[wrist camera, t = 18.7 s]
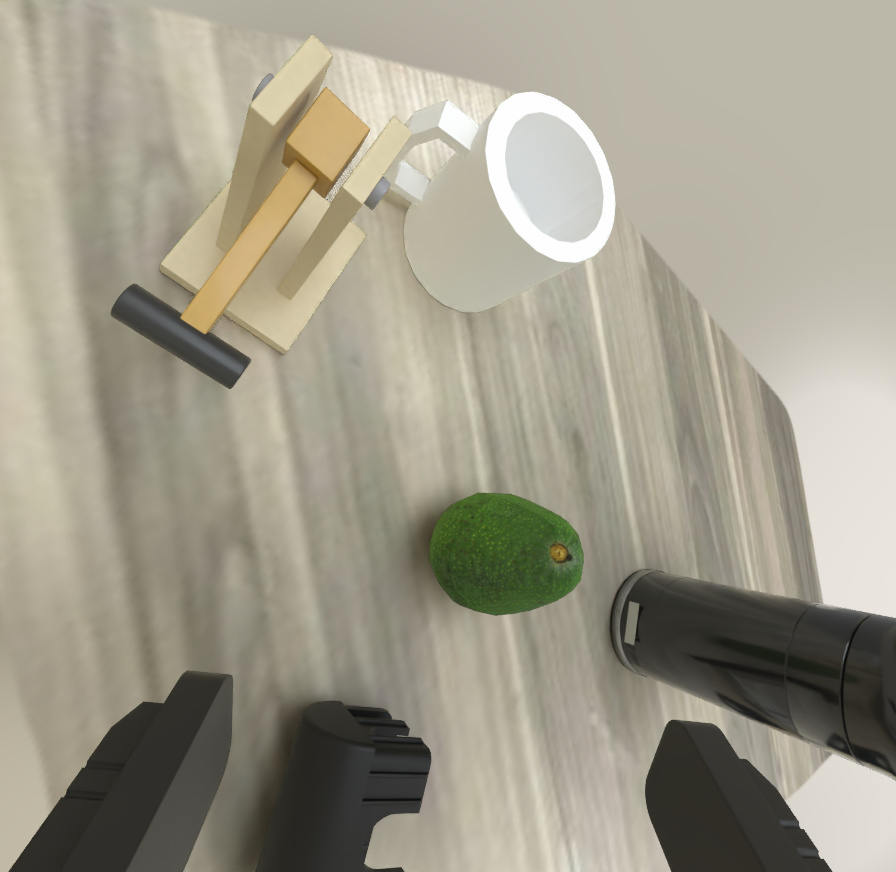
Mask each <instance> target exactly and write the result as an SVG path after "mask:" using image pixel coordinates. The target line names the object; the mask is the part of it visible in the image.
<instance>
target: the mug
mask: <svg viewBox="0 0 896 872" xmlns="http://www.w3.org/2000/svg"><path fill="white" fill-rule="evenodd" d="M405 126H406V127H407V128H408V129H409V130H410V131H411V132H412V135H411V136H410V138H409V139H408V141H407V142H406V144H405V145H404V146H403V148H402V149H401V151H400V152H399V154H398V155H397V156H396V158H395V159H394V161H393V162H392V164H391V165H390V166H389V168H388V169H387V171H386V173H385V179H386V180H387V181H388V182H390V184H391V185H390V187H389V188H390V189H392V190H393V191H395V192H396V193H398V194H399V195H401V196H403V197H404V198H406V199H407V200H409V201H410V202H412V204H411V205H410V207H409V209H408V211H407V212H406V218H405V223H404V229H403V236H404V244H405V252H406V256H407V258H408V260H409V263H410V265H411V268H412V270H413V272H414V275H415V276H416V278H417V279H418V280H419V282H420V283H421V284H422V285H423V287H424V288H425V289H426V291H427V292H428V293H429V294H430V295H432V296H433V297H434V298H435V299H437V300H438V301H439V302H441V303H442V304H443V305H444V306H447V307H450V308H452V309H455V310H457V311H460V312H472V313H479V312H482V311H485V310H487V309H490V308H492V307H495V306H496V305H498V304H500V303H502V302H504V301H506V300H508V299H510V298H512V297H514V296H516V295H518V294H520V293H522V292H524V291H526V290H528V289H530V288H532V287H534V286H536V285H538V284H540V283H542V282H544V281H546V280H548V279H550V278H552V277H554V276H556V275H558V274H560V273H562V272H564V271H566V270H568V269H570V268H572V267H574V266H576V265H578V264H580V263H582V262H584V261H586V260H588V259H590V258H592V257H593V256H594V255H595V254H596V253H597V252H598V251H599V250H600V249H601V248H602V247H603V246H604V245H605V244H606V242H607V239H608V237H609V234H610V232H611V229H612V227H613V223H614V213H615V195H614V187H613V180H612V176H611V173H610V170H609V167H608V164H607V161H606V158H605V155H604V153H603V151H602V149H601V148H600V146H599V144H598V142H597V140H596V139H595V137H594V135H593V133H592V132H591V130H590V129H589V128H588V127H587V126H586V124H585V123H584V122H583V121H582V120H581V119H580V118H579V116H578V115H577V114H576V113H575V112H574V111H573V110H571V109H570V108H568V107H567V106H566V105H564V104H563V103H561V102H560V101H559V100H557V99H555V98H553V97H550V96H547V95H544V94H541V93H537V92H527V93H518V94H515V95H513V96H512V97H510V98H509V99H507V100H506V101H504V102H503V103H502V104H500V105H499V106H498V107H497V108H496V109H495V110H494V112H493V113H492V114H491V115H490V116H489V117H488V118H487V119H486V120H485V121H484V122H483V124H482V125H481V126H479V125H478V124H477V123H476V122H474V121H473V120H472V119H471V118H469V117H468V116H467V115H466V114H464V113H463V112H462V111H461V110H459V109H458V108H457V107H456V106H454V105H453V104H452V103H451V102H449V101H448V100H445V101H443V102H440V103H437V104H435V105H432V106H429V107H426V108H424V109H421V110H418V111H416V112H414V113H413V115H412V116H411V117H410V118H409V120H408V121H407V122H406V124H405ZM437 138H439V139H440V140H442V141H443V142H444V143H446V144H447V145H448V146H450V147H451V148H452V149H454V150H455V151H456V153H455V154H454V155H453V156H452V157H451V159H450V160H449V161H448V162H447V163H446V164H445V165H444V166H443V167H442V168H441V169H440V171H439V172H438V173H437V174H436V175H435V176H434V177H433V178H432V179H431V180H430V179H429V178H427V177H426V176H424V175H423V174H421V173H420V172H419V171H417V170H416V169H414V168H413V167H411V166H410V165H408V164H407V163H406V162H404V161H403V158H404V157H405V156H406V155H407V153H408V152H409V151H410V150H411V149H412V148H413V147H414V146H415V145H418V144H422V143H425V142H428V141H431V140H434V139H437ZM429 180H430V181H429Z"/></svg>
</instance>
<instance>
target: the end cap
mask: <svg viewBox="0 0 896 872" xmlns="http://www.w3.org/2000/svg"><path fill="white" fill-rule="evenodd" d="M409 730H410V729H409V727H408V726H407V725H406V723H405V722H404V721H401V720H392V717H391V715H390V713H389V712H388V711H387V710H385V709H381V708H370V707H358V706H347V705H343V703H342V702H341V701H324V702H318V703H315V704H312V705H310V706H309V707H307V708H306V709H305V710H304V712H303V713H302V716H301V719H300V723H299V726H298V729H297V733H296V736H295V739H294V743H293V746H292V750H291V753H290V756H289V760H288V763H287V766H286V770H285V773H284V776H283V780H282V783H281V787H280V790H279V793H278V797H277V800H276V803H275V807H274V810H273V813H272V817H271V820H270V823H269V827H268V830H267V834H266V837H265V840H264V844H263V847H262V850H261V854H260V857H259V860H258V864H257V867H256V871H255V872H404V871H403V869H402V868H401V867H399V868H386V869H372V868H369V867H367V866H366V865H365V864H364V862H365V858H366V854H367V850H368V846H369V842H370V838H371V834H372V830H373V827H374V826H375V824H376V823H377V822H379V821H380V820H381V819H382V818H384V817H386V816H388V815H391V814H401V813H419V811H420V807H421V803H422V799H423V795H424V790H425V786H426V782H427V778H428V774H429V769H430V765H431V752H430V750H429V748H428V747H427V746H426V745H425V744H424V743H423V741H422V739H421V738H416V737H398V736H397V735H402V736H408V734H409Z"/></svg>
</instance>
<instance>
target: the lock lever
mask: <svg viewBox="0 0 896 872" xmlns="http://www.w3.org/2000/svg"><path fill="white" fill-rule="evenodd" d="M369 131H370V129H369V127H368V126H367V125H365V124H364V123H363V122H362V121H361V120H360V119H359V118H358V117H357V116H356V115H355V114H354V113H353V112H352V111H351V110H350V109H349V108H348V107H347V106H346V105H345V104H344V103H343V102H341V101H340V100H339V99H338V98H337V97H336V96H335V95H334V94H333V93H332V92H331V91H330V90H329V89H328V88H327V87H325V88H324V89H323V91H322V92H321V93H320V95H319V96H318V97H317V99H316V100H315V101H314V103H313V104H312V106H311V107H310V108H309V110H308V111H307V112H306V114H305V115H304V116H303V118H302V119H301V120H300V122H299V123H298V125H297V126H296V127H295V129H294V130H293V131H292V133H291V134H290V135H289V137H288V138H287V140H286V143H285V148H284V153H283V159H282V163H283V164H284V165H285V166H286V167H287V168H288V170H287V171H286V172H285V174H284V175H283V177H282V178H281V179H280V181H279V182H278V183H277V185H276V186H275V188H274V189H273V190H272V192H271V193H270V194H269V196H268V197H267V198H266V200H265V201H264V203H263V204H262V205H261V207H260V208H259V209H258V211H257V212H256V214H255V215H254V216H253V218H252V219H251V220H250V222H249V223H248V224H247V226H246V227H245V229H244V230H243V231H242V233H241V234H240V235H239V237H238V238H237V240H236V241H235V242H234V244H233V245H232V246H231V248H230V249H229V251H228V252H227V253H226V255H225V256H224V257H223V259H222V260H221V261H220V263H219V264H218V266H217V267H216V268H215V270H214V271H213V272H212V274H211V275H210V277H209V278H208V279H207V281H206V282H205V283H204V285H203V286H202V287H201V289H200V290H199V292H198V293H197V294H196V296H195V297H194V298H193V300H192V301H191V303H190V304H189V305H188V307H187V308H186V309H185V311H184V312H183V313H182V314H181V313H180V312H178V311H177V310H175V309H174V308H172V307H171V306H169V305H168V304H166V303H165V302H163V301H162V300H160V299H159V298H157V297H156V296H154V295H152V294H151V293H149V292H148V291H146V290H145V289H143V288H142V287H140V286H139V285H137V284H132V285H131V286H129V287H128V288H127V289H126V290H125V291H124V292H123V293H122V294H121V295H120V296H119V298H118V299H117V301H116V302H115V304H114V306H113V308H112V310H111V316H112V317H113V318H115V319H117V320H118V321H120V322H122V323H123V324H125V325H126V326H128V327H130V328H131V329H133V330H135V331H136V332H138V333H139V334H141V335H143V336H144V337H146V338H147V339H149V340H151V341H152V342H154V343H156V344H157V345H159V346H160V347H162V348H164V349H165V350H167V351H169V352H170V353H172V354H173V355H175V356H177V357H178V358H180V359H182V360H183V361H185V362H186V363H188V364H190V365H191V366H193V367H195V368H196V369H198V370H199V371H201V372H203V373H204V374H206V375H207V376H209V377H211V378H212V379H214V380H216V381H217V382H219V383H220V384H222V385H224V386H225V387H227V388H229V389H231V388H232V387H233V386H234V385H235V383H236V382H237V380H238V379H239V378H240V376H241V375H242V373H243V372H244V371H245V369H246V368H247V366H248V365H249V363H250V362H251V359H250V358H249V357H247V356H246V355H244V354H243V353H241V352H240V351H238V350H236V349H235V348H233V347H232V346H230V345H229V344H227V343H226V342H224V341H223V340H221V339H220V338H218V337H217V336H215V335H214V334H212V333H210V331H211V330H212V328H213V327H214V325H215V324H216V323H217V321H218V320H219V319H220V317H221V316H222V314H223V313H224V312H225V310H226V309H227V307H228V306H229V305H230V303H231V302H232V301H233V299H234V298H235V296H236V295H237V294H238V292H239V291H240V289H241V288H242V287H243V285H244V284H245V283H246V281H247V280H248V278H249V277H250V276H251V274H252V273H253V271H254V270H255V269H256V267H257V266H258V264H259V263H260V262H261V260H262V259H263V258H264V256H265V255H266V253H267V252H268V251H269V249H270V248H271V246H272V245H273V244H274V242H275V241H276V240H277V238H278V237H279V235H280V234H281V233H282V231H283V230H284V228H285V227H286V226H287V224H288V223H289V222H290V220H291V219H292V217H293V216H294V215H295V213H296V212H297V210H298V209H299V208H300V206H301V205H302V204H303V202H304V201H305V199H306V198H307V197H308V195H309V194H310V192H311V191H312V190H314V191H316V192H317V193H318V194H319V195H320V196H321V197H323V198H325V197H326V196H327V194H328V193H329V192H330V190H331V189H332V187H333V186H334V185H335V183H336V182H337V180H338V179H339V178H340V176H341V175H342V173H343V172H344V171H345V169H346V168H347V166H348V165H349V164H350V162H351V161H352V159H353V158H354V157H355V155H356V154H357V152H358V151H359V149H360V147H361V146H362V144H363V142H364V140H365V138H366V137H367V135H368V133H369Z"/></svg>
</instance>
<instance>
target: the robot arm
mask: <svg viewBox="0 0 896 872" xmlns="http://www.w3.org/2000/svg"><path fill="white" fill-rule="evenodd" d="M612 638H613V643H614V647H615V650H616V653H617V655H618V657H619V659H620V660H621V662H622V663H623V664H624V666H625V667H627V668H628V669H629V670H631V671H632V672H635V673H637V674H639V675H642V676H645V677H650V678H652V679H655V680H657V681H660V682H662V683H664V684H667V685H669V686H671V687H673V688H676V689H678V690H681V691H683V692H685V693H688V694H690V695H693V696H695V697H697V698H700V699H702V700H705V701H707V702H709V703H712V704H714V705H717V706H719V707H721V708H724V709H726V710H729V711H731V712H734V713H736V714H738V715H741V716H743V717H746V718H748V719H750V720H753V721H755V722H758V723H760V724H762V725H765V726H767V727H770V728H772V729H774V730H777V731H779V732H782V733H784V734H786V735H789V736H791V737H794V738H796V739H799V740H801V741H803V742H806V743H808V744H811V745H814V746H816V747H818V748H821V749H823V750H826V751H828V752H830V753H833V754H835V755H838V756H840V757H843V758H845V759H847V760H850V761H852V762H855V763H857V764H860V765H862V766H865V767H867V768H870V769H872V770H874V771H877V772H879V773H881V774H883V775H886V776H888V777H890V778H892V779H893V780H895V781H896V618H892V617H887V616H882V615H876V614H871V613H866V612H861V611H856V610H851V609H846V608H841V607H836V606H831V605H826V604H819V603H814V602H809V601H804V600H799V599H794V598H789V597H784V596H779V595H773V594H768V593H763V592H758V591H753V590H748V589H743V588H738V587H733V586H727V585H722V584H717V583H712V582H707V581H702V580H697V579H692V578H687V577H682V576H677V575H672V574H667V573H665V572H662V571H657V570H652V569H645V570H641V571H638V572H636V573H635V574H633V575H632V576H631V577H630V578H629V579H628V580H627V581H626V582H625V584H624V585H623V587H622V588H621V590H620V592H619V594H618V596H617V599H616V602H615V605H614V609H613V615H612ZM232 704H233V677H232V675H228V674H218V673H208V672H198V671H186V672H185V673H183V675H182V676H181V677H180V678H179V680H178V681H177V683H176V685H175V686H174V688H173V689H172V691H171V693H170V694H169V696H168V697H167V699H166V701H165V702H164V703H153V702H142V703H141V704H140V705H139V706H137V707H136V708H135V709H134V710H132V711H131V712H130V713H129V714H127V715H126V716H125V717H124V718H122V719H121V720H120V721H119V722H117V723H116V724H115V725H114V726H112V727H111V728H110V730H109V731H108V733H107V734H106V735H105V737H104V738H103V740H102V741H101V742H100V744H99V745H98V747H97V748H96V749H95V751H94V752H93V754H92V755H91V756H90V758H89V759H88V761H87V765H86V766H85V768H82V769H81V771H80V772H79V773H78V775H77V776H76V778H75V779H74V780H73V782H72V783H71V785H70V786H69V787H68V789H67V792H66V795H65V796H64V797H61V799H60V800H59V801H58V803H57V804H56V806H55V807H54V808H53V810H52V811H51V813H50V814H49V815H48V817H47V818H46V820H45V821H44V823H43V824H42V825H41V827H40V828H39V830H38V831H37V832H36V834H35V835H34V837H33V838H32V839H31V841H30V842H29V844H28V845H27V846H26V848H25V849H24V851H23V852H22V853H21V855H20V856H19V858H18V859H17V861H16V862H15V863H14V865H13V866H12V868H11V869H10V870H9V872H183V871H184V868H185V866H186V864H187V861H188V859H189V856H190V854H191V852H192V849H193V847H194V844H195V842H196V840H197V837H198V835H199V833H200V830H201V828H202V825H203V823H204V821H205V818H206V816H207V813H208V811H209V809H210V806H211V804H212V801H213V799H214V797H215V794H216V792H217V789H218V787H219V785H220V782H221V780H222V777H223V774H224V771H225V768H226V764H227V761H228V757H229V752H230V746H231V737H232ZM645 796H646V804H647V809H648V813H649V817H650V819H651V822H652V824H653V827H654V829H655V832H656V834H657V837H658V839H659V842H660V844H661V847H662V849H663V852H664V854H665V857H666V859H667V862H668V864H669V867H670V869H671V872H832V871H831V869H830V868H829V866H828V865H827V863H826V862H825V860H824V859H821V858H820V857H819V855H818V852H819V851H818V850H817V848H816V847H815V845H814V844H813V842H812V841H811V839H810V838H809V836H808V835H807V833H806V832H805V830H804V829H800V827H799V821H798V820H797V819H796V817H795V816H794V814H793V813H792V811H791V810H790V808H789V807H788V805H787V804H786V802H785V801H784V799H783V798H782V796H781V795H780V793H779V792H778V790H777V789H776V788H775V787H774V786H773V785H772V784H771V783H770V782H769V781H768V780H767V779H766V778H765V777H764V776H763V775H762V774H761V773H760V772H759V771H758V770H757V769H756V768H755V767H754V766H753V765H752V764H751V763H750V762H749V761H748V760H747V759H739V757H738V756H737V754H736V753H735V751H734V750H733V748H732V746H731V745H730V743H729V742H728V740H727V739H726V737H725V736H724V734H723V733H722V731H721V730H720V729H719V728H718V727H717V726H716V725H714V724H711V723H701V722H691V721H681V720H671V721H669V722H668V723H667V725H666V727H665V730H664V732H663V735H662V738H661V740H660V743H659V746H658V748H657V751H656V754H655V756H654V759H653V762H652V764H651V767H650V770H649V772H648V775H647V779H646V785H645Z"/></svg>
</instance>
